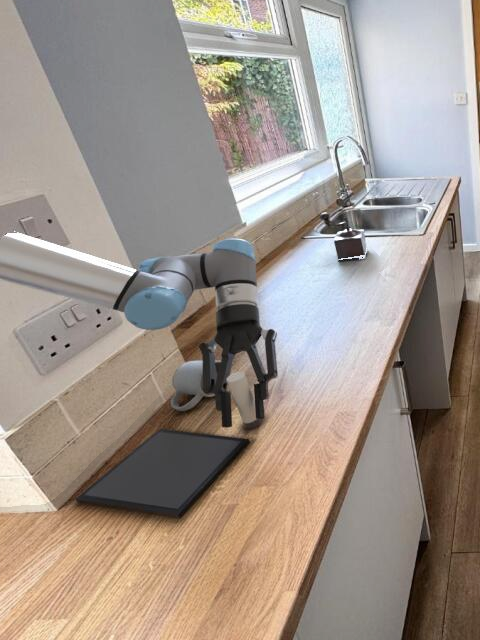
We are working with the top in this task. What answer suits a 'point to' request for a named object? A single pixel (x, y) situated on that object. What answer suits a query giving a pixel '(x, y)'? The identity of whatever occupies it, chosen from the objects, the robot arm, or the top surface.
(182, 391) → the ceramic mug
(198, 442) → the tablet
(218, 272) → the robot arm
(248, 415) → the light grey elongated piece
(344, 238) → the black coffee grinder
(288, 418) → the top surface
